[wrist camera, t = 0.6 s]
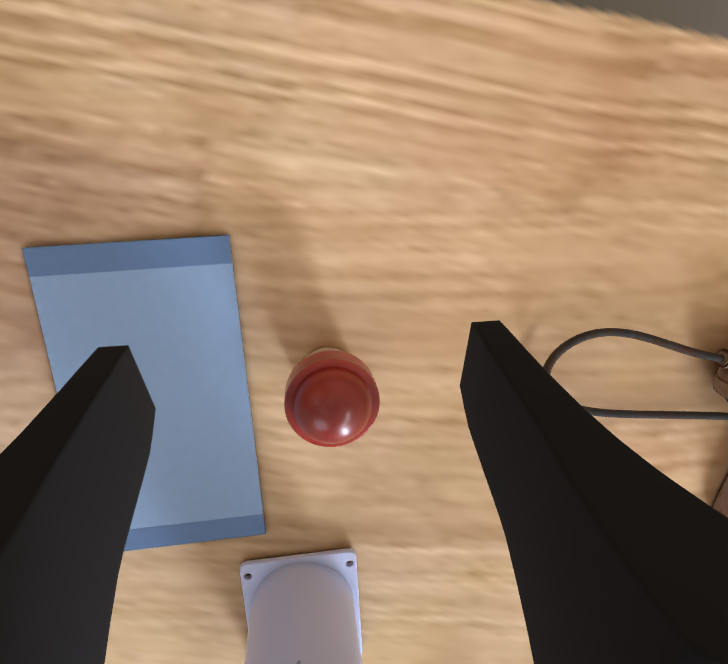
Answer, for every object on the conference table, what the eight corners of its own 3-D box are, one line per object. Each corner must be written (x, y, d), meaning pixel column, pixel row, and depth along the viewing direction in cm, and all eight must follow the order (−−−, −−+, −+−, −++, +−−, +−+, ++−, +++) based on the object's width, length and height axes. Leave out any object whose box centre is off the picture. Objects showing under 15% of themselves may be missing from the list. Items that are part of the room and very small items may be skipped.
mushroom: (370, 407, 34) (387, 460, 27) (290, 415, 33) (288, 471, 27) (367, 331, 32) (383, 368, 26) (282, 338, 32) (278, 378, 25)
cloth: (265, 531, 35) (265, 534, 35) (97, 551, 34) (95, 554, 34) (229, 234, 30) (228, 235, 29) (24, 247, 28) (21, 248, 28)
